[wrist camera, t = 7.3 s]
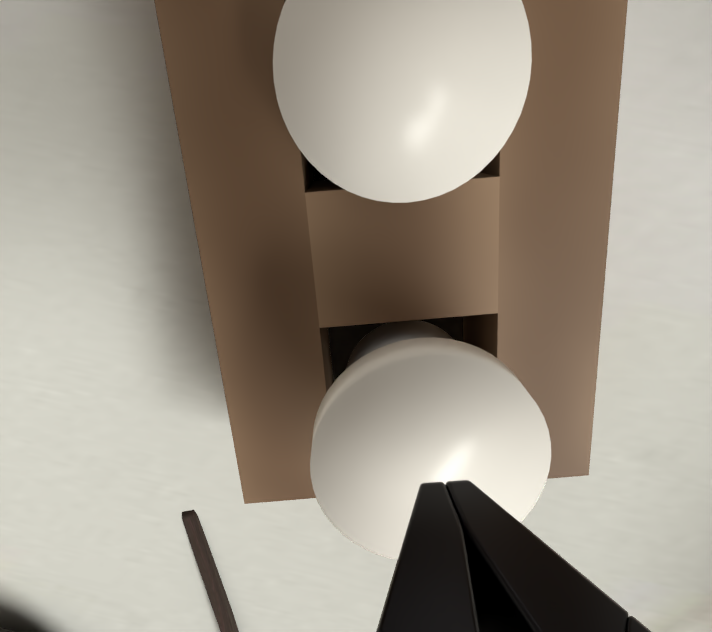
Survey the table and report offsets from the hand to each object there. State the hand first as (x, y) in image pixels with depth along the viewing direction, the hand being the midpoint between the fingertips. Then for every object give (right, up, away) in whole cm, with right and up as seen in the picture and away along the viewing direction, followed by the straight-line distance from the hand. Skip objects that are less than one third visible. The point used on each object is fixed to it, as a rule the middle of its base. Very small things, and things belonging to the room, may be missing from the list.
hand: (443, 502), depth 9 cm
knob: (0, +1, +6) cm, 7 cm away
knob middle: (-1, +10, +6) cm, 11 cm away
